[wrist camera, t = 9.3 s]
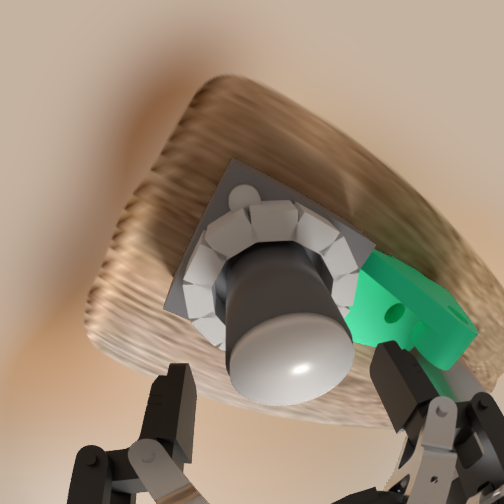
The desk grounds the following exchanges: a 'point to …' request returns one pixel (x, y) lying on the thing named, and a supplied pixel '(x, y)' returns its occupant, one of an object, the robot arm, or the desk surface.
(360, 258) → the segmented ring socket plate
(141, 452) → the robot arm
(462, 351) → the camera mount
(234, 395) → the desk surface
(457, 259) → the desk surface
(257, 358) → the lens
